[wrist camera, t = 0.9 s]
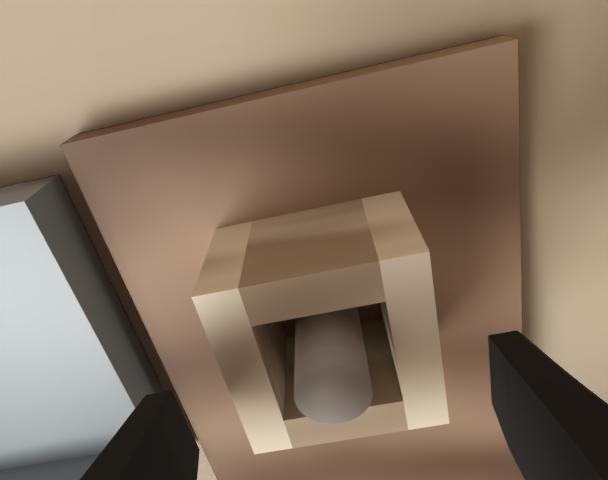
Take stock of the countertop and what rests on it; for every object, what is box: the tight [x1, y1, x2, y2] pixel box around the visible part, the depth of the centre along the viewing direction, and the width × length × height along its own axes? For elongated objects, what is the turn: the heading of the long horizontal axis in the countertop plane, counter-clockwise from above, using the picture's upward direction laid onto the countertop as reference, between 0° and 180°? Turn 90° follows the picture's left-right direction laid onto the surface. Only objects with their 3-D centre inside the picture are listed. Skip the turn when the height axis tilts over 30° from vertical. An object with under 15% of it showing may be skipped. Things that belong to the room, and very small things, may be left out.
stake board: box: [60, 36, 524, 480], centre depth 15 cm, size 18×12×6 cm, turn 13°
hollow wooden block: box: [191, 191, 449, 454], centre depth 13 cm, size 5×5×4 cm
